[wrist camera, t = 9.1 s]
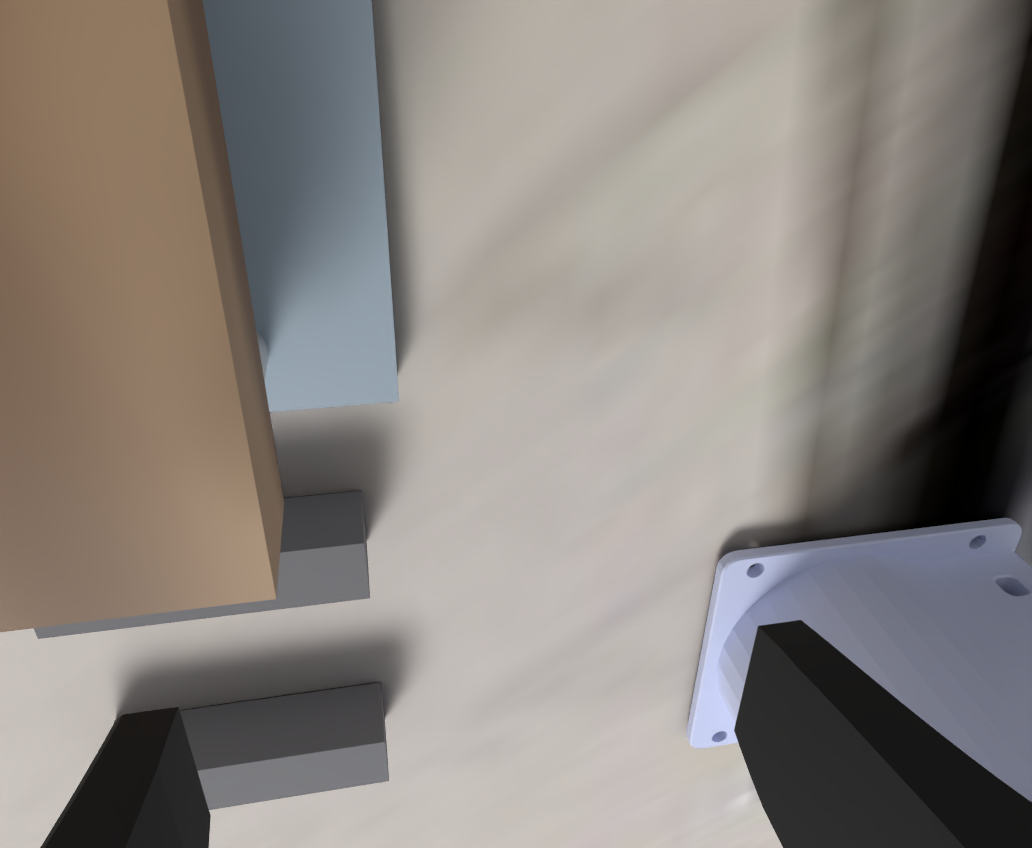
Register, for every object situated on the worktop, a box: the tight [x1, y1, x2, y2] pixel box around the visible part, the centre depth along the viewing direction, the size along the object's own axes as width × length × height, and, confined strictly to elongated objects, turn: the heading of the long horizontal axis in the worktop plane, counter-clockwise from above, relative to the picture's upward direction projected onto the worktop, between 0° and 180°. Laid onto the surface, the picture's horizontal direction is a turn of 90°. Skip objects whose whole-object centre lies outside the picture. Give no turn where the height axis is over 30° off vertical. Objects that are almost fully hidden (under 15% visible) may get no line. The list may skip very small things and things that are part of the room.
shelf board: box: [0, 0, 284, 632], centre depth 10 cm, size 4×10×2 cm, turn 179°
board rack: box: [34, 491, 389, 810], centre depth 20 cm, size 7×8×2 cm
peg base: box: [203, 0, 399, 412], centre depth 13 cm, size 9×10×4 cm
